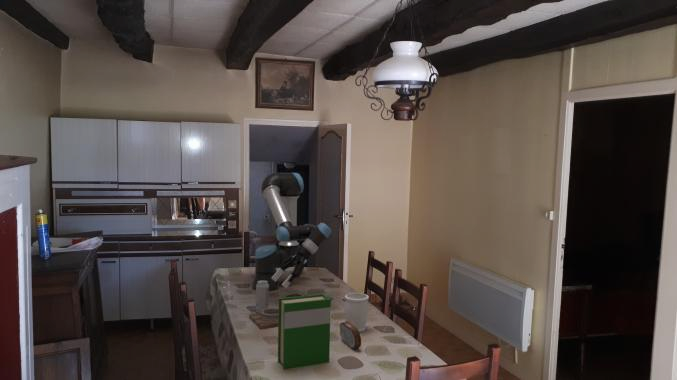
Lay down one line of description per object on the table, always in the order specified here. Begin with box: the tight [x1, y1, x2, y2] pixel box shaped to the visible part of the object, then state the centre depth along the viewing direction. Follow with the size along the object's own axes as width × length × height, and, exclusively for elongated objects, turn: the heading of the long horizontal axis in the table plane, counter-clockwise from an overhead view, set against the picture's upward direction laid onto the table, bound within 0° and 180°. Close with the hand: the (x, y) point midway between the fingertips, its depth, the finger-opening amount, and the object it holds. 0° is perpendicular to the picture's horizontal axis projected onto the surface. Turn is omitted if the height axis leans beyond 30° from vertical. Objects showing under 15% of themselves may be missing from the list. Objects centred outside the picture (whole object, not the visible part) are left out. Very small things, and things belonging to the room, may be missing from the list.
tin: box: [339, 320, 362, 350], centre depth 203 cm, size 15×3×8 cm, turn 25°
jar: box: [344, 292, 370, 333], centre depth 221 cm, size 11×10×15 cm
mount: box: [248, 307, 279, 330], centre depth 229 cm, size 16×16×4 cm
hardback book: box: [277, 293, 332, 371], centre depth 185 cm, size 18×7×24 cm, turn 114°
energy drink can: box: [255, 280, 270, 314], centre depth 240 cm, size 6×6×15 cm
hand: (278, 283), depth 242 cm, fingers open, 13 cm apart
